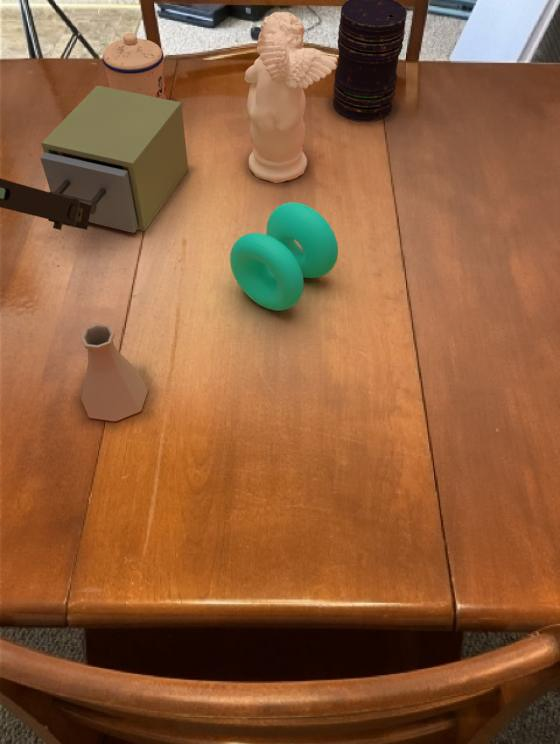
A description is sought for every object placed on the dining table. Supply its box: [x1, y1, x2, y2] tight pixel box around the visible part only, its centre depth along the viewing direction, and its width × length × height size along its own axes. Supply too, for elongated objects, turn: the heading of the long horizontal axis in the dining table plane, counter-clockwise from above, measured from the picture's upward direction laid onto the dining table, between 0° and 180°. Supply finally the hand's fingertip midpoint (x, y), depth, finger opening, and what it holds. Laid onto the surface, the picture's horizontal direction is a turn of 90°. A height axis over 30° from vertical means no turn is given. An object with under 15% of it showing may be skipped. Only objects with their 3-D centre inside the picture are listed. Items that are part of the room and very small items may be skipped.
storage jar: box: [332, 0, 408, 123], centre depth 105 cm, size 10×10×15 cm
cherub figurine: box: [244, 11, 338, 184], centre depth 91 cm, size 12×12×22 cm
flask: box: [80, 322, 149, 422], centre depth 70 cm, size 7×7×10 cm
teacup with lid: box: [101, 32, 168, 100], centre depth 105 cm, size 12×9×12 cm
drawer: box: [40, 151, 138, 234], centre depth 89 cm, size 18×11×9 cm, turn 161°
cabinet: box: [41, 85, 189, 232], centre depth 92 cm, size 15×13×11 cm
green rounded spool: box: [229, 201, 339, 311], centre depth 81 cm, size 10×10×10 cm
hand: (31, 203), depth 75 cm, fingers open, 13 cm apart
